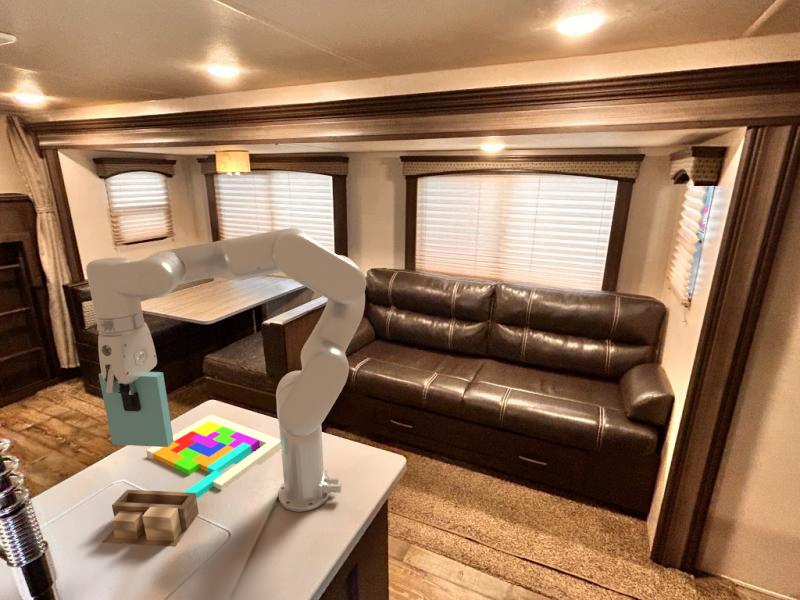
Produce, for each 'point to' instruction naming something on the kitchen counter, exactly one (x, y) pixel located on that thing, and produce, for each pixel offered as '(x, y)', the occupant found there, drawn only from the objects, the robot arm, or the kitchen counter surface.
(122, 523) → the offcut short
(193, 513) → the rack
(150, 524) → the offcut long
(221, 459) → the puzzle game
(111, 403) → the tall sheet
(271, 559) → the kitchen counter surface
